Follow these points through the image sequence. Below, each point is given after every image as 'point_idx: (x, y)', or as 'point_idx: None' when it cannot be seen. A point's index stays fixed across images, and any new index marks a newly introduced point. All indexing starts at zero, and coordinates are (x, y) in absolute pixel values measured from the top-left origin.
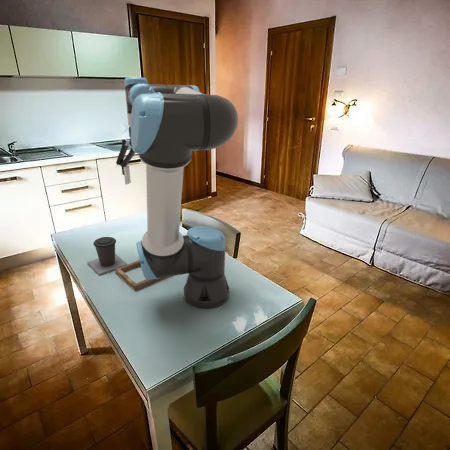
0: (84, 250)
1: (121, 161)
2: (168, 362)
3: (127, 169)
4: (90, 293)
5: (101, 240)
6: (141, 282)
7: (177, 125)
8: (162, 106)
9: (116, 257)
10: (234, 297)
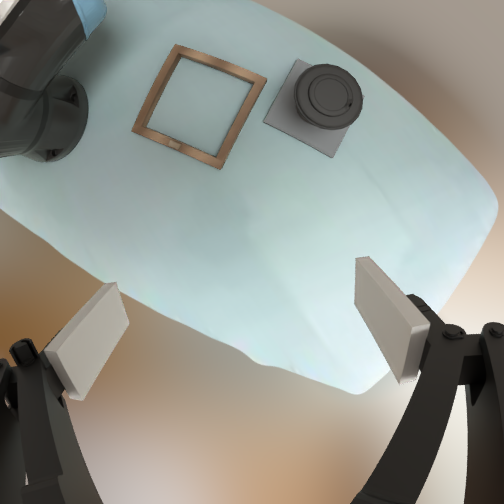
0: (413, 154)
1: (475, 375)
2: None
3: (394, 340)
4: (263, 7)
5: (338, 89)
6: (168, 60)
7: None
8: None
9: (313, 139)
10: None
